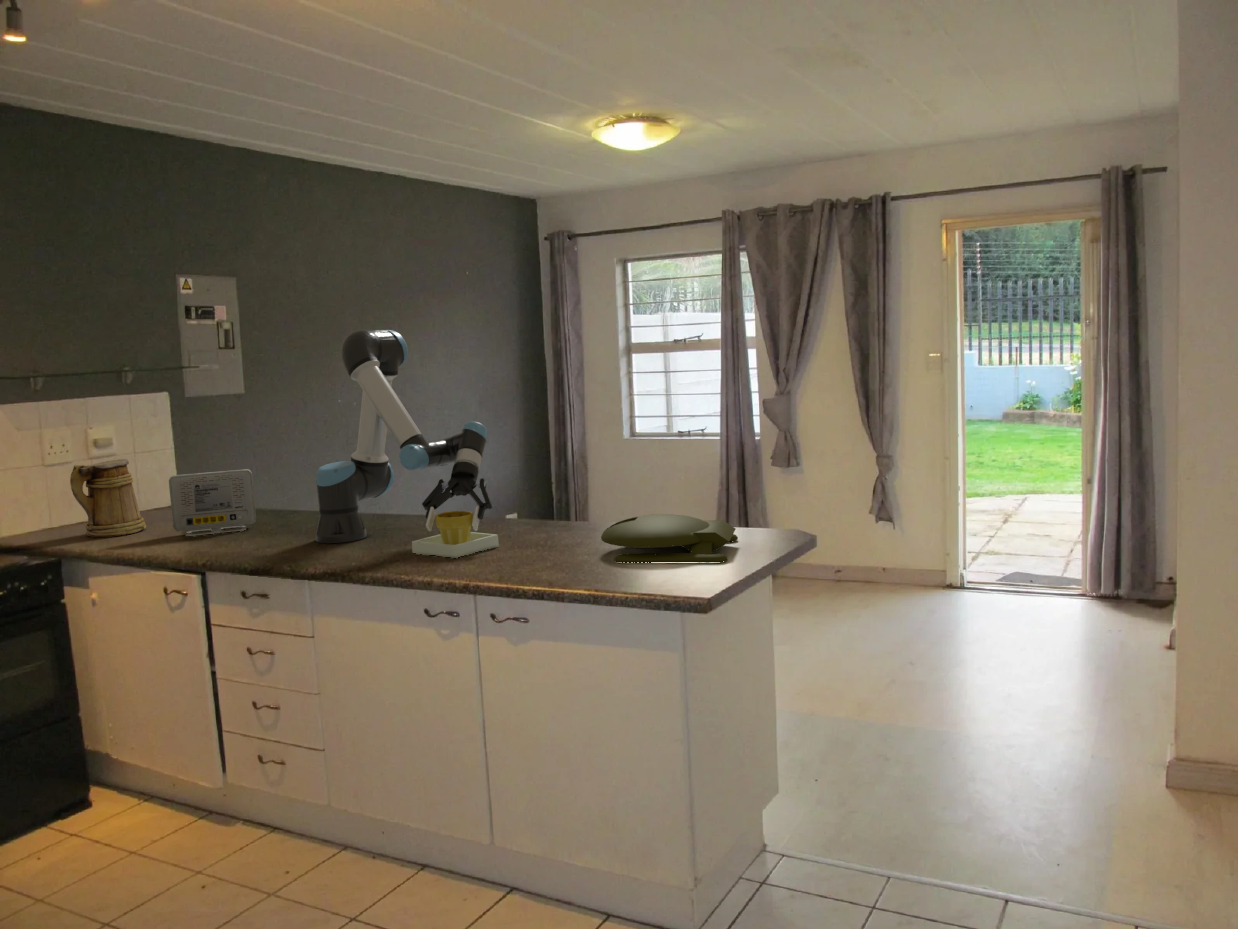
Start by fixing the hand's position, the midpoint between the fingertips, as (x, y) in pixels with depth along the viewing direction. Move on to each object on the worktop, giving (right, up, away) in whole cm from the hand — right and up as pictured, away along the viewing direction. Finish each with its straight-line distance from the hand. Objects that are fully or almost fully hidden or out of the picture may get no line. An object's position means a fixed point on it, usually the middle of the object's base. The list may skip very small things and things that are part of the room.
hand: (451, 528), depth 276 cm
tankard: (-127, -6, +61) cm, 141 cm away
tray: (+1, -6, +3) cm, 7 cm away
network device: (-88, -5, +55) cm, 104 cm away
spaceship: (+60, -6, -13) cm, 61 cm away
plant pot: (+1, -6, +3) cm, 7 cm away
